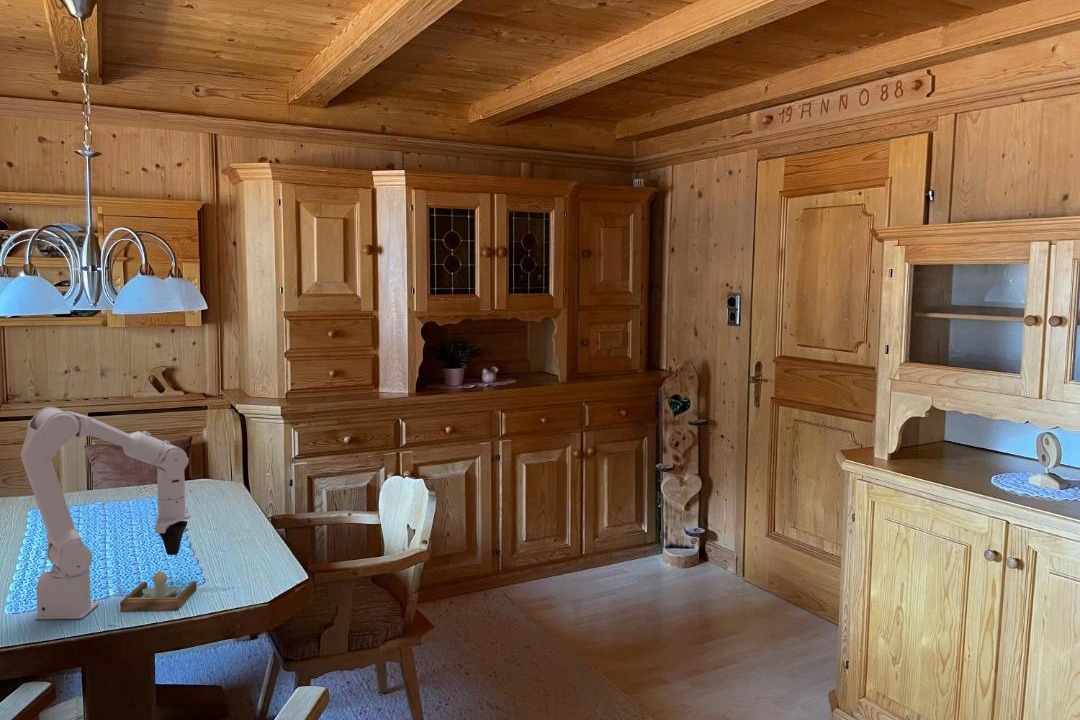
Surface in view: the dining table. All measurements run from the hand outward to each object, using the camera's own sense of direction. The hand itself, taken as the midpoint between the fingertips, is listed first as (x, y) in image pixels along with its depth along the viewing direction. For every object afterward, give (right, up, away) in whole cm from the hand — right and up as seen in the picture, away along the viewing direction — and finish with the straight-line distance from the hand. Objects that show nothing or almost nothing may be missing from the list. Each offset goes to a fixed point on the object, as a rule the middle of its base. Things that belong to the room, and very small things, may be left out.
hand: (172, 554), depth 183 cm
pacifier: (0, -9, -5) cm, 10 cm away
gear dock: (+1, -8, -7) cm, 11 cm away
